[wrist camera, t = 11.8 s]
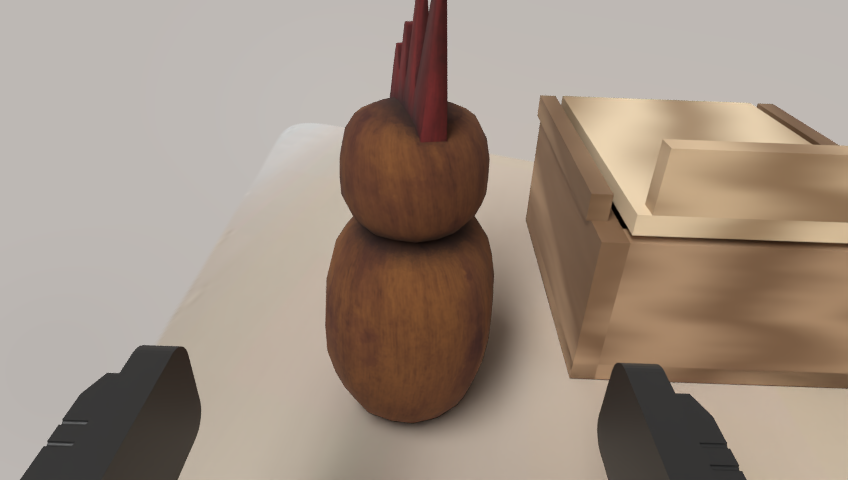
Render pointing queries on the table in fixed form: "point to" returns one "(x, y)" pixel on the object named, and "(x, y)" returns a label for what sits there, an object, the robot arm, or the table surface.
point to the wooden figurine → (412, 240)
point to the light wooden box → (680, 283)
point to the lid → (713, 170)
